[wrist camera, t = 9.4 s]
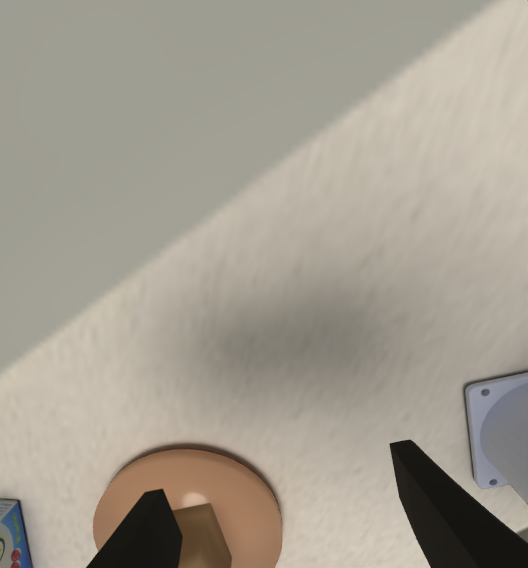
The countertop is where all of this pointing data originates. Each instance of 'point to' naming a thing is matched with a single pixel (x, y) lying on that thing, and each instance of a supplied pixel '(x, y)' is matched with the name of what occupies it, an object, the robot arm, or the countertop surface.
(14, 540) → the medicine box
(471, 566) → the robot arm
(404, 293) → the countertop surface
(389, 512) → the countertop surface
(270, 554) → the peach round disc
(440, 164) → the countertop surface
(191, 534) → the oak block
